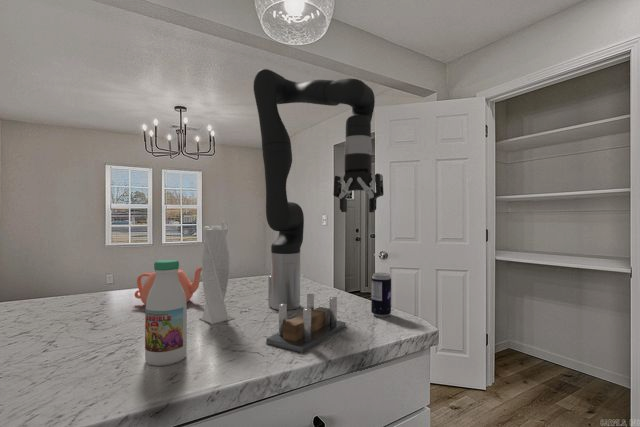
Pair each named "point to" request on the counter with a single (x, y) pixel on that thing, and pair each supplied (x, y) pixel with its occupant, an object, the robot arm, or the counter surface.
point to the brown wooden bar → (295, 325)
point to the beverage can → (381, 294)
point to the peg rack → (307, 328)
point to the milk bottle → (166, 316)
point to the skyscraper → (215, 274)
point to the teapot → (184, 281)
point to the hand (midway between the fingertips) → (357, 212)
